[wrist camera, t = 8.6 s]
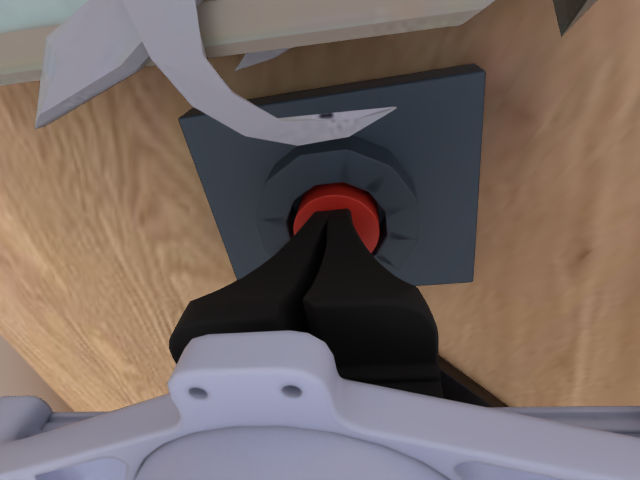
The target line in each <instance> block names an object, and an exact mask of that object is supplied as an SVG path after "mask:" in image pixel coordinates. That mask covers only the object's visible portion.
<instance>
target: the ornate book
mask: <svg viewBox="0 0 640 480" xmlns="http://www.w3.org/2000/svg"><path fill="white" fill-rule="evenodd" d="M493 1H495V0H0V86H2V85H9V84H17V83H25V82H32V81H40V89H39V97H38V105H37V114H36V122H35V129H37V128H41V127H45V126H46V125H48V124H50V123H51V122H53V121H55V120H57V119H58V118H60V117H62V116H63V115H65V114H67V113H68V112H70V111H72V110H73V109H75V108H77V107H79V106H80V105H82V104H84V103H85V102H87V101H89V100H90V99H92V98H94V97H95V96H97V95H99V94H101V93H102V92H104V91H106V90H107V89H109V88H111V87H112V86H114V85H116V84H117V83H119V82H121V81H123V80H124V79H126V78H128V77H129V76H131V75H133V74H134V73H136V72H138V71H139V70H141V69H142V68H143V67H146V66H154V65H157V66H158V68H159V69H160V70H161V71H162V72H163V73H164V74H165V76H166V77H167V78H168V79H169V80H170V81H171V83H172V84H173V85H174V86H175V87H176V88H177V89H178V91H179V92H180V93H181V94H182V95H183V96H184V98H185V99H186V100H187V101H188V102H189V103H190V104H191V106H193V107H195V108H196V109H198V110H200V111H202V112H203V113H205V114H207V115H209V116H210V117H212V118H214V119H216V120H217V121H219V122H221V123H223V124H224V125H226V126H228V127H230V128H231V129H233V130H235V131H237V132H239V133H240V134H242V135H244V136H247V137H252V138H258V139H264V140H269V141H275V142H280V143H286V144H291V145H297V146H299V145H305V144H311V143H316V142H322V141H328V140H333V139H339V138H345V137H349V136H351V135H353V134H354V133H356V132H358V131H359V130H361V129H363V128H364V127H366V126H368V125H370V124H371V123H373V122H375V121H376V120H378V119H380V118H381V117H383V116H385V115H386V114H388V113H390V112H391V111H393V110H395V109H396V107H386V108H376V109H366V110H356V111H346V112H336V113H326V114H316V115H306V116H296V117H286V118H276V117H274V116H273V115H271V114H269V113H268V112H266V111H264V110H263V109H261V108H259V107H258V106H256V105H254V104H252V103H251V102H249V101H247V100H246V99H244V98H242V97H241V96H239V95H237V94H236V93H234V92H233V91H232V90H231V89H230V88H229V86H228V85H227V84H226V83H225V81H224V80H223V79H222V78H221V76H220V75H219V74H218V73H217V71H216V70H215V69H214V68H213V66H212V65H211V64H210V63H209V61H208V60H207V58H214V57H222V56H230V55H237V54H245V53H246V54H245V56H244V57H243V59H242V60H241V62H240V63H239V65H238V66H237V68H236V69H235V71H236V70H239V69H242V68H245V67H248V66H251V65H254V64H257V63H260V62H263V61H266V60H270V59H273V58H276V57H277V56H279V55H280V54H282V53H283V52H285V51H287V50H288V49H290V48H291V47H298V46H306V45H313V44H321V43H328V42H336V41H344V40H351V39H359V38H366V37H374V36H382V35H389V34H397V33H404V32H412V31H420V30H427V29H435V28H442V27H450V26H458V25H462V24H463V23H465V22H466V21H468V20H469V19H471V18H472V17H473V16H475V15H476V14H478V13H479V12H480V11H482V10H483V9H485V8H486V7H487V6H488V5H490V4H491V3H492V2H493ZM596 1H597V0H553V3H554V7H555V12H556V16H557V20H558V25H559V29H560V33H561V37H562V36H563V35H564V34H565V33H566V32H567V31H568V30H569V29H570V28H571V27H572V26H573V25H574V24H575V23H576V22H577V21H578V20H579V18H580V17H581V16H582V15H583V14H584V13H585V12H586V11H587V10H588V9H589V8H590V7H591V6H592V5H593V4H594V3H595V2H596Z"/></svg>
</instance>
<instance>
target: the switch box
mask: <svg viewBox="0 0 640 480" xmlns="http://www.w3.org/2000/svg"><path fill="white" fill-rule="evenodd" d="M485 78H486V72H485V70H483V69H482V68H481V67H479V66H478V65H476V64H470V65H463V66H457V67H451V68H444V69H438V70H432V71H425V72H419V73H413V74H407V75H400V76H394V77H388V78H381V79H375V80H369V81H362V82H356V83H350V84H344V85H337V86H331V87H325V88H318V89H312V90H306V91H300V92H293V93H287V94H281V95H274V96H268V97H262V98H255V99H249V100H247V101H249V102H251V103H252V104H254V105H256V106H258V107H259V108H261V109H263V110H264V111H266V112H268V113H269V114H271V115H273V116H274V117H276V118H286V117H296V116H306V115H316V114H326V113H336V112H346V111H356V110H366V109H376V108H386V107H396V109H395V110H393V111H391V112H390V113H388V114H386V115H385V116H383V117H381V118H380V119H378V120H376V121H375V122H373V123H371V124H370V125H368V126H366V127H364V128H363V129H361V130H359V131H358V132H356V133H354V134H353V135H351V136H349V137H345V138H339V139H333V140H328V141H322V142H316V143H311V144H305V145H299V146H297V145H291V144H286V143H280V142H275V141H269V140H264V139H258V138H252V137H247V136H244V135H242V134H240V133H239V132H237V131H235V130H233V129H231V128H230V127H228V126H226V125H224V124H223V123H221V122H219V121H217V120H216V119H214V118H212V117H210V116H209V115H207V114H205V113H203V112H202V111H200V110H198V109H196V108H192V109H191V110H189V111H188V112H187V113H185V114H184V115H182V116H181V117H180V118H179V123H180V126H181V129H182V131H183V134H184V137H185V139H186V142H187V145H188V148H189V150H190V153H191V156H192V158H193V161H194V164H195V167H196V169H197V172H198V175H199V178H200V180H201V183H202V186H203V188H204V191H205V194H206V197H207V199H208V202H209V205H210V207H211V210H212V213H213V216H214V218H215V221H216V224H217V227H218V229H219V232H220V235H221V237H222V240H223V243H224V246H225V248H226V251H227V254H228V256H229V259H230V262H231V265H232V267H233V270H234V273H235V276H236V278H237V280H239V279H241V278H242V277H244V276H246V275H247V274H249V273H250V272H252V271H253V270H255V269H256V268H258V267H259V266H261V265H262V264H263V263H265V262H266V261H267V260H269V259H270V258H271V257H272V256H274V255H275V254H276V253H277V252H278V251H279V250H280V249H281V248H282V247H283V246H284V245H285V244H286V243H287V242H288V241H289V240H290V239H291V238H292V237H293V236H294V232H293V227H294V221H295V218H296V214H297V211H298V208H299V204H300V201H301V198H302V195H303V194H304V193H305V192H307V191H308V190H309V189H311V188H312V187H314V186H315V185H322V184H331V183H340V182H344V183H347V184H349V185H352V186H355V187H357V188H360V189H362V190H365V191H368V192H369V193H370V194H371V195H372V197H373V198H374V199H375V200H376V202H377V204H378V215H379V239H378V243H377V245H376V247H375V249H374V250H373V251H372V253H371V254H372V255H373V256H374V257H375V259H376V260H377V261H378V262H379V263H380V264H381V265H382V266H384V267H385V268H386V269H387V270H389V271H390V272H391V273H392V274H393V275H395V276H396V277H398V278H399V279H401V280H403V281H405V282H407V283H409V284H411V285H413V286H421V285H436V284H452V283H467V282H473V276H474V259H475V243H476V226H477V210H478V193H479V177H480V160H481V144H482V127H483V111H484V94H485Z"/></svg>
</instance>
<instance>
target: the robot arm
mask: <svg viewBox="0 0 640 480" xmlns="http://www.w3.org/2000/svg"><path fill="white" fill-rule="evenodd" d="M169 349H170V352H171V354H172V357H173V359H174V361H175V362H176V364H177V365H176V367H175V369H174V371H173V373H172V375H171V377H170V379H169V381H168V383H167V384H168V389H169V394H165V395H162V396H159V397H156V398H153V399H149V400H146V401H143V402H140V403H137V404H134V405H130V406H127V407H124V408H121V409H118V410H114V411H111V412H53V411H52V409H51V407H50V406H49V405H48V404H47V403H46V402H45V401H44V400H42V399H41V398H38V397H36V396H3V397H0V480H640V406H578V407H483V406H478V405H473V404H468V403H463V402H458V401H453V400H447V399H444V396H443V390H442V385H441V373H440V368H439V363H438V330H437V326H436V323H435V320H434V318H433V315H432V313H431V311H430V309H429V307H428V305H427V303H426V301H425V299H424V298H423V296H422V294H421V293H420V291H419V289H418V288H417V287H415V286H413V285H411V284H409V283H407V282H405V281H403V280H401V279H399V278H398V277H396V276H395V275H393V274H392V273H391V272H390V271H389V270H387V269H386V268H385V267H384V266H382V265H381V264H380V263H379V262H378V261H377V260H376V259H375V257H374V256H373V255H372V254H371V253H370V251H369V250H368V249H367V248H366V246H365V245H364V243H363V242H362V240H361V238H360V237H359V235H358V233H357V231H356V229H355V227H354V225H353V222H352V215H351V211H350V210H349V209H348V208H347V209H337V210H327V211H317V212H314V213H313V214H312V215H311V217H310V218H309V219H308V220H307V221H306V223H305V224H304V225H303V226H302V227H301V228H300V230H299V231H298V232H297V233H296V234H295V235H294V236H293V237H292V238H291V239H290V240H289V241H288V242H287V243H286V244H285V245H284V246H283V247H282V248H281V249H280V250H279V251H278V252H277V253H276V254H275V255H274V256H272V257H271V258H270V259H269V260H267V261H266V262H265V263H263V264H262V265H261V266H259V267H258V268H256V269H255V270H253V271H252V272H250V273H249V274H247V275H246V276H244V277H242V278H241V279H239V280H237V281H235V282H233V283H232V284H230V285H228V286H226V287H224V288H222V289H220V290H217V291H215V292H213V293H210V294H208V295H205V296H203V297H200V298H198V299H196V300H193V301H190V303H189V304H188V306H187V308H186V309H185V311H184V313H183V314H182V316H181V318H180V320H179V322H178V324H177V326H176V327H175V329H174V331H173V333H172V335H171V337H170V340H169Z"/></svg>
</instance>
